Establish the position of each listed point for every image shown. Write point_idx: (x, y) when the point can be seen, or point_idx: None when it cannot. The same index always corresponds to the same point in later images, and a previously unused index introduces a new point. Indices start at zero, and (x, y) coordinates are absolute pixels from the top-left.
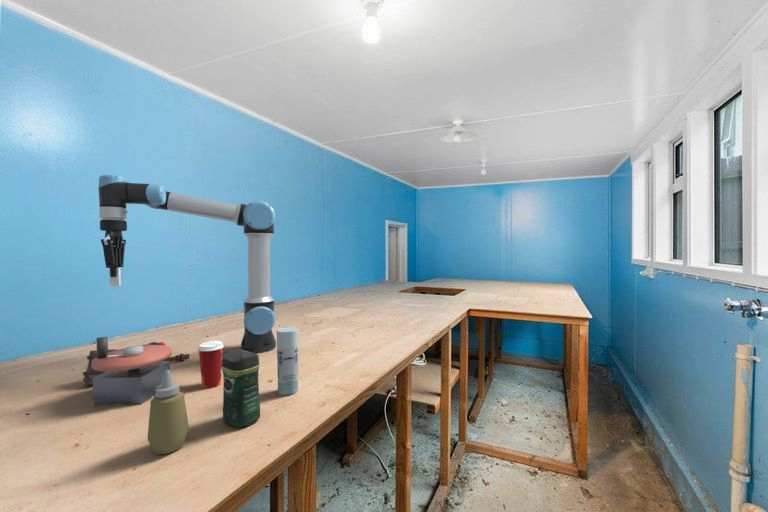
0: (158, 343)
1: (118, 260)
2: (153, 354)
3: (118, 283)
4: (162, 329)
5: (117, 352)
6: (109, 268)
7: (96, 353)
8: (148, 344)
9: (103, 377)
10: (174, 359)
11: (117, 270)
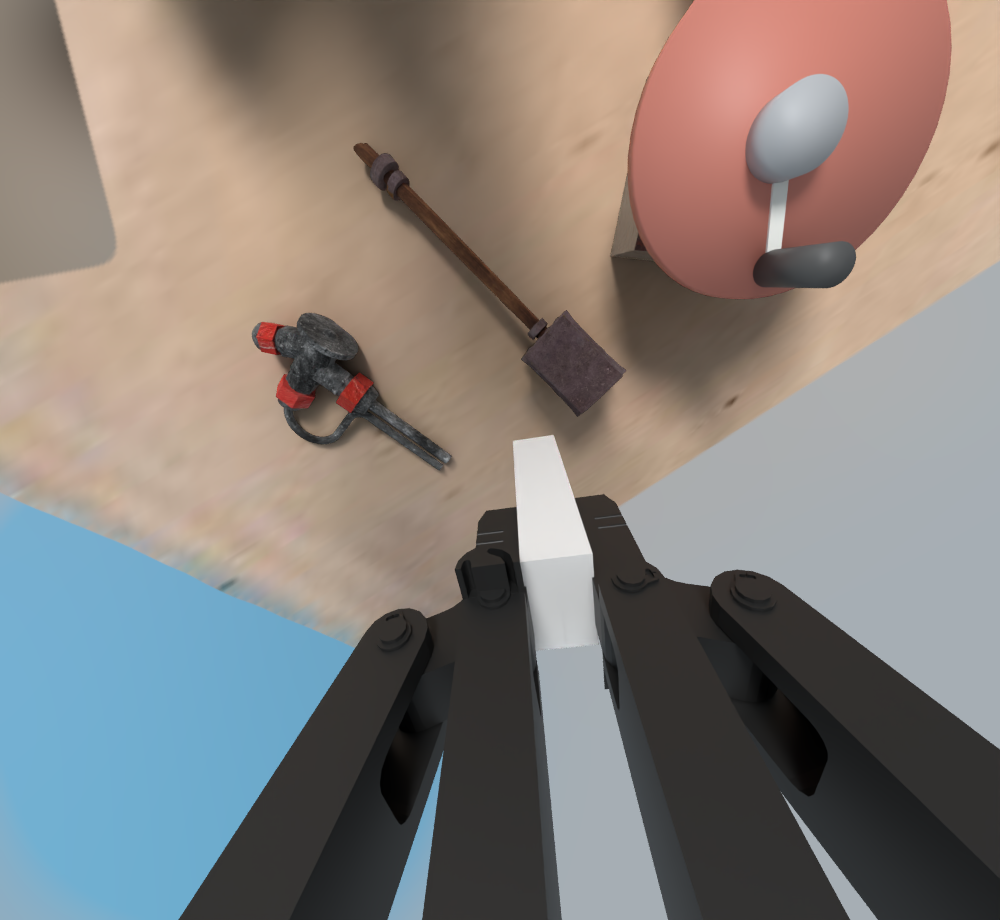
0: (300, 324)
1: (533, 704)
2: (833, 7)
3: (557, 448)
4: (22, 479)
5: (717, 246)
6: (595, 637)
7: (618, 371)
8: (330, 349)
9: None
10: (413, 191)
11: (583, 537)
